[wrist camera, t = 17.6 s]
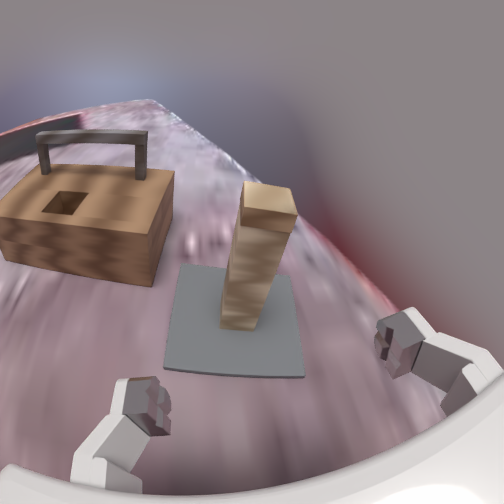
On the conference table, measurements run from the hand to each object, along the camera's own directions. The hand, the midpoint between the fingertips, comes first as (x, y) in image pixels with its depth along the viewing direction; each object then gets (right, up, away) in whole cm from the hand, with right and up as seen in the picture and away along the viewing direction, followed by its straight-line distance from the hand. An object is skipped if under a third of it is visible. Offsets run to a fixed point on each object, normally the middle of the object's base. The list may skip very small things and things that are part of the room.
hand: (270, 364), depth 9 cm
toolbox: (-24, +6, +25) cm, 35 cm away
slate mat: (-2, -4, +21) cm, 21 cm away
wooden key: (-2, -3, +21) cm, 21 cm away
